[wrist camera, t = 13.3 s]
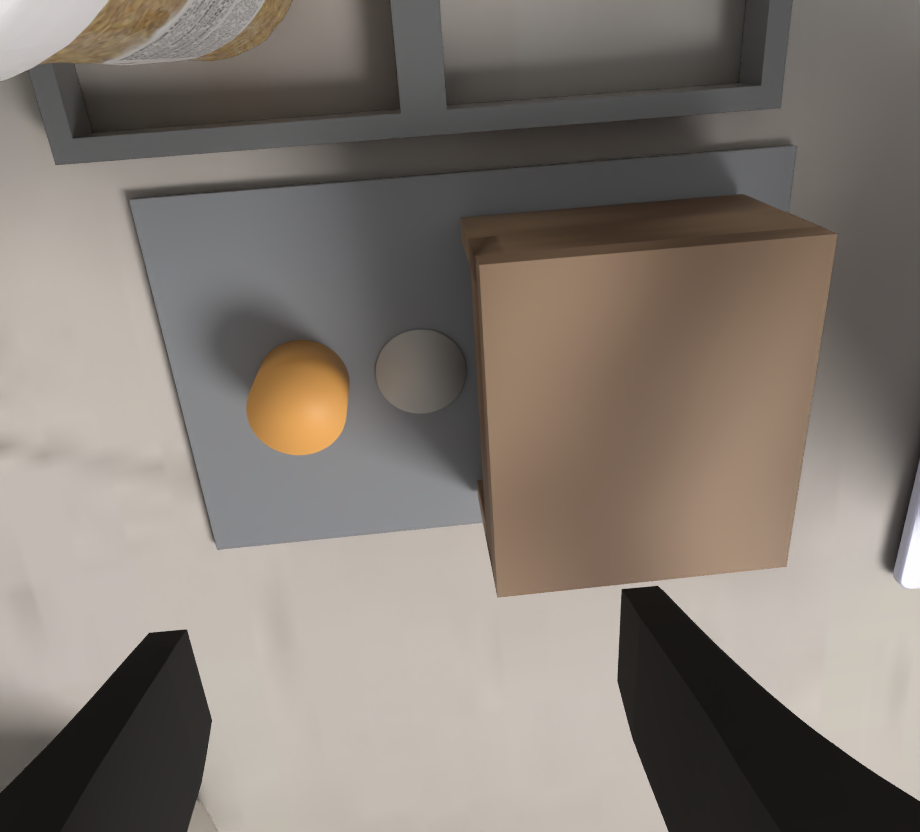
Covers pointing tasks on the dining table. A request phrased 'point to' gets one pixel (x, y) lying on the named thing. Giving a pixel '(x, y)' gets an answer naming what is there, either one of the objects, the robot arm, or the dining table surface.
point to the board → (361, 332)
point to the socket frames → (418, 100)
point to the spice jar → (130, 31)
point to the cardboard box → (643, 387)
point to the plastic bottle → (201, 820)
